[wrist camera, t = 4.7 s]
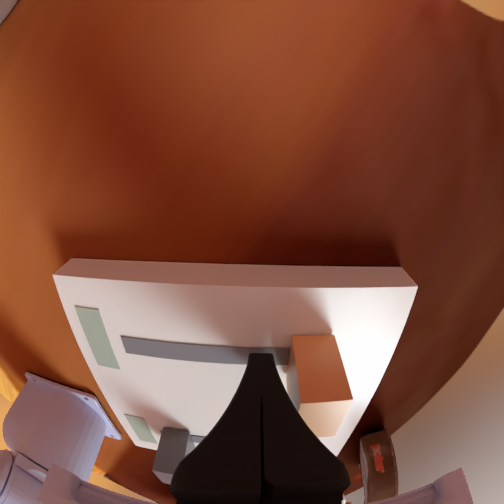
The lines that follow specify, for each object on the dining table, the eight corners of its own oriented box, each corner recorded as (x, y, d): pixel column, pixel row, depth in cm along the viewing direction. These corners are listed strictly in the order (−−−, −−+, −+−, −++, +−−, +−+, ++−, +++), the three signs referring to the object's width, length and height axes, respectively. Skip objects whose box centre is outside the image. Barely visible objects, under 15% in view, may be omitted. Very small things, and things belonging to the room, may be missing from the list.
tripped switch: (285, 377, 14) (290, 439, 10) (292, 335, 12) (300, 403, 9) (323, 375, 14) (334, 435, 10) (334, 334, 12) (353, 399, 9)
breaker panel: (141, 429, 21) (135, 446, 19) (71, 258, 13) (51, 275, 12) (333, 438, 21) (336, 457, 19) (401, 266, 13) (418, 287, 11)
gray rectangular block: (171, 443, 18) (162, 482, 14) (163, 427, 17) (151, 470, 13) (195, 447, 18) (188, 487, 14) (189, 431, 17) (181, 475, 13)
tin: (378, 463, 25) (390, 514, 17) (355, 469, 25) (364, 522, 18) (386, 412, 19) (410, 492, 11) (352, 423, 20) (369, 505, 12)
